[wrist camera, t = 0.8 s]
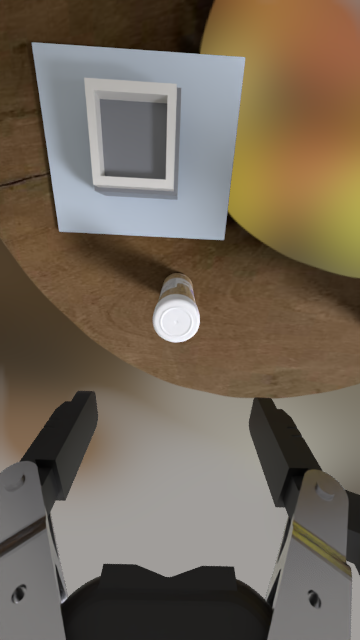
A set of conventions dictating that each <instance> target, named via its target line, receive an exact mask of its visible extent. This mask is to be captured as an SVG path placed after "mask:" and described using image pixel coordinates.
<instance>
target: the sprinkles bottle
mask: <svg viewBox="0 0 360 640" xmlns="http://www.w3.org/2000/svg"><path fill="white" fill-rule="evenodd" d="M199 324H200V316H199V311H198V308H197V306H196V304H195V299H194V293H193V285H192V282H191V280H190V279H189V278H188V277H187V276H186V275H184V274H181V273H174V274H171V275H169V276H168V277H167V278H166V279H165V281H164V282H163V287H162V290H161V294H160V297H159V301H158V304H157V305H156V307H155V310H154V314H153V326H154V329H155V331H156V332H157V333H158V335H159V336H160V337H162V338H163V339H165V340H167V341H170V342H183V341H186V340H188V339H190V338H191V337H192V336H193V335H194V334H195V333H196V332H197V330H198V328H199Z"/></svg>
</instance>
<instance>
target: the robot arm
mask: <svg viewBox="0 0 360 640" xmlns="http://www.w3.org/2000/svg"><path fill="white" fill-rule="evenodd" d="M97 421H98V411H97V403H96V395H95V392H93V391H78V392H77V393H76V394H75V396H74V397H73V399H72V401H71V402H68V401H67V402H64V403H63V404H62V405H60V406H59V407H58V408H57V409H55V411H54V413H53V414H52V415H51V417H50V418H49V421H47V423H46V424H45V426H44V428H43V429H42V430H41V431H40V433H39V435H38V436H37V437H36V439H35V440H34V442H33V443H32V444H31V446H30V448H29V449H28V450H27V452H26V453H25V455H24V456H23V458H22V459H21V460H20V462H18V463H15V464H13V465H11V466H9V467H7V468H6V469H4V470H3V471H2V472H1V473H0V640H350V637H351V601H352V572H351V568H350V566H349V565H347V563H346V561H349V562H351V563H354V564H355V566H356V568H357V570H358V572H359V575H360V495H358V494H355V493H352V492H349V491H347V490H345V489H344V488H343V487H342V485H341V484H340V483H339V482H338V481H337V480H336V479H335V478H333V477H332V476H331V475H329V474H327V473H326V472H323V471H322V469H321V468H320V466H319V464H318V462H317V461H316V459H315V457H314V456H313V454H312V452H311V450H310V449H309V447H308V445H307V444H306V442H305V440H304V439H303V438H302V435H301V433H300V432H299V430H298V429H297V427H296V425H295V423H294V422H293V420H292V418H291V417H290V416H289V415H288V414H287V413H286V412H285V411H283V410H282V409H277V408H276V406H275V404H274V402H273V401H272V399H271V398H254V400H253V406H252V410H251V415H250V419H249V430H250V434H251V437H252V440H253V442H254V445H255V449H256V451H257V454H258V457H259V460H260V463H261V466H262V469H263V472H264V475H265V478H266V481H267V484H268V486H269V489H270V492H271V495H272V498H273V501H274V504H275V507H285V508H286V511H287V513H288V518H287V521H286V525H285V529H284V533H283V537H282V541H281V544H280V548H279V552H278V556H277V560H276V563H275V567H274V571H273V574H272V577H271V580H270V583H269V587H268V590H267V594H266V597H265V599H263V597H262V596H260V594H259V593H257V592H256V591H255V590H254V589H252V588H251V587H250V586H248V585H247V584H245V583H243V582H242V581H240V580H237V579H236V577H235V571H234V567H227V566H226V567H224V566H223V567H222V566H201V567H198V568H195V569H192V570H190V571H187V572H184V573H181V574H179V575H176V576H173V577H164V576H162V575H160V574H157V573H155V572H153V571H150V570H148V569H145V568H143V567H140V566H138V565H133V564H103V569H102V573H101V576H99V577H97V578H95V579H93V580H91V581H89V582H87V583H85V584H84V585H82V586H81V587H80V588H78V589H77V590H76V591H75V592H73V593H72V594H71V595H70V596H69V597H68V594H67V589H66V584H65V580H64V576H63V572H62V568H61V563H60V558H59V553H58V548H57V543H56V538H55V533H54V527H53V522H52V517H51V513H50V511H51V509H52V507H53V505H54V503H55V501H56V500H66V498H67V495H68V493H69V490H70V488H71V486H72V483H73V481H74V479H75V476H76V474H77V471H78V469H79V467H80V464H81V462H82V459H83V457H84V454H85V452H86V450H87V447H88V445H89V443H90V440H91V437H92V436H93V433H94V431H95V429H96V425H97Z"/></svg>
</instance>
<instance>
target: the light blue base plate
mask: <svg viewBox="0 0 360 640" xmlns="http://www.w3.org/2000/svg"><path fill="white" fill-rule="evenodd" d="M32 49H33V56H34V63H35V69H36V76H37V83H38V90H39V97H40V104H41V111H42V117H43V124H44V131H45V138H46V145H47V152H48V159H49V165H50V172H51V179H52V186H53V193H54V200H55V207H56V213H57V220H58V227H59V232H77V233H96V234H115V235H135V236H154V237H173V238H192V239H212V240H224V236H225V228H226V219H227V211H228V202H229V192H230V184H231V176H232V168H233V159H234V151H235V141H236V134H237V125H238V116H239V108H240V99H241V91H242V82H243V74H244V65H245V57H234V56H219V55H205V54H191V53H177V52H163V51H149V50H134V49H120V48H106V47H92V46H78V45H63V44H49V43H35V42H32Z"/></svg>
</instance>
